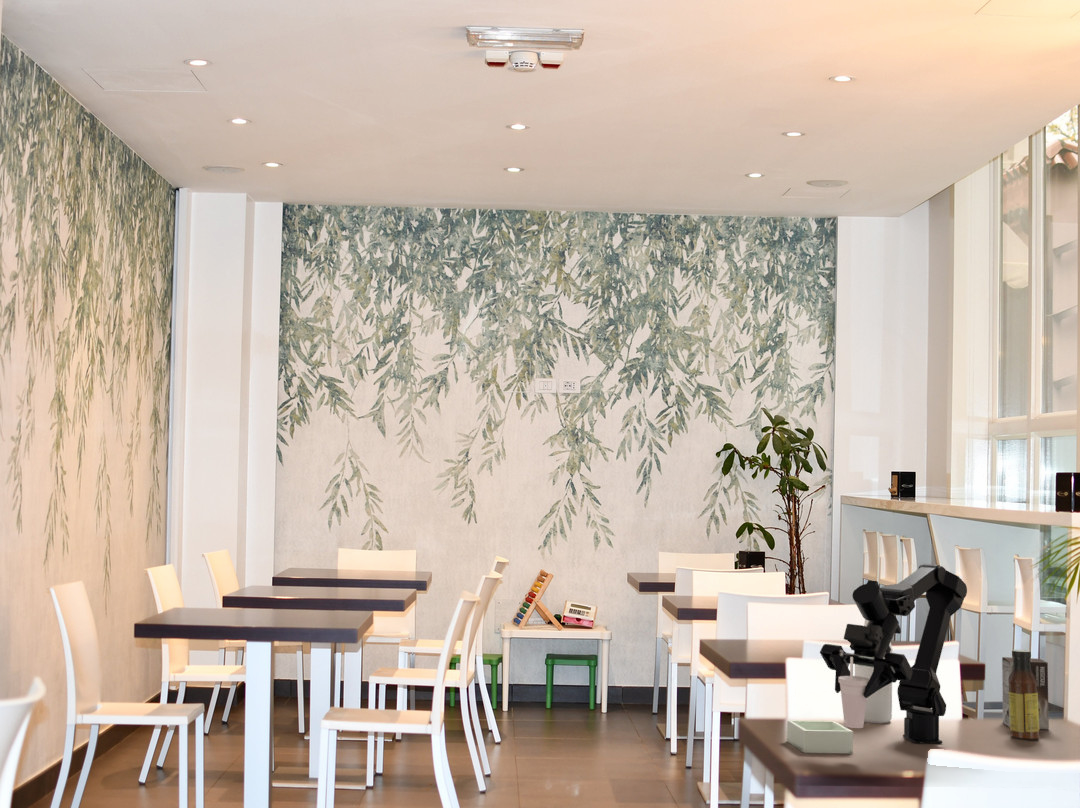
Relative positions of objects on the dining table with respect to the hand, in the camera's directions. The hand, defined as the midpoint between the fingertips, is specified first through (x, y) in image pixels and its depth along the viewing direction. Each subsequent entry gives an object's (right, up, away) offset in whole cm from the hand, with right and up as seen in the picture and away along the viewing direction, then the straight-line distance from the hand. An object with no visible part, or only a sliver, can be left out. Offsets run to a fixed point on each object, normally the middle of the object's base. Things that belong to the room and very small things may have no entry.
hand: (850, 694), depth 220 cm
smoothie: (+1, -7, 0) cm, 7 cm away
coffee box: (+55, -19, +42) cm, 72 cm away
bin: (-4, -14, +10) cm, 17 cm away
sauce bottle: (+48, -18, +28) cm, 59 cm away
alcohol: (+18, -18, +42) cm, 49 cm away
